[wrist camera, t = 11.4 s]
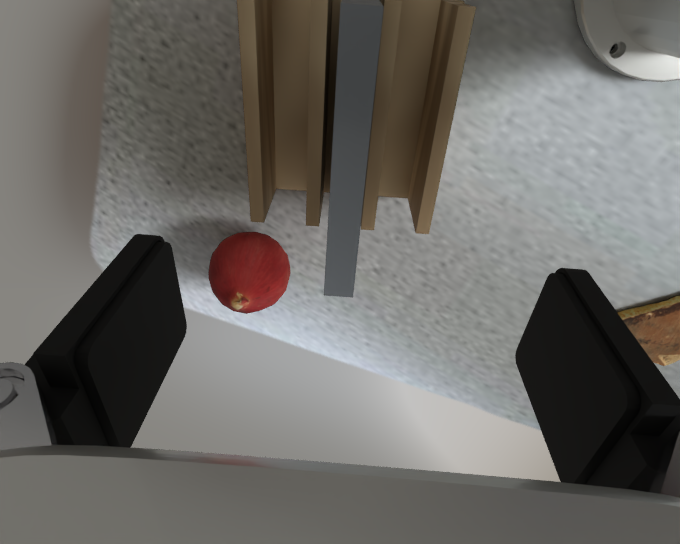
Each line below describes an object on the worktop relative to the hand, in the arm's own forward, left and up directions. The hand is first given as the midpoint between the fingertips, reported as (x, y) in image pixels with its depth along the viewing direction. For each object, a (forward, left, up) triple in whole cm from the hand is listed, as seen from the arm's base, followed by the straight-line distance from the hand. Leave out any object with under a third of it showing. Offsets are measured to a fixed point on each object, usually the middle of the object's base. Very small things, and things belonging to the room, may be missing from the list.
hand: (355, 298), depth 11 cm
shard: (-28, +18, -22) cm, 40 cm away
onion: (+7, +12, -21) cm, 25 cm away
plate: (0, 0, -20) cm, 20 cm away
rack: (0, 0, -21) cm, 21 cm away
